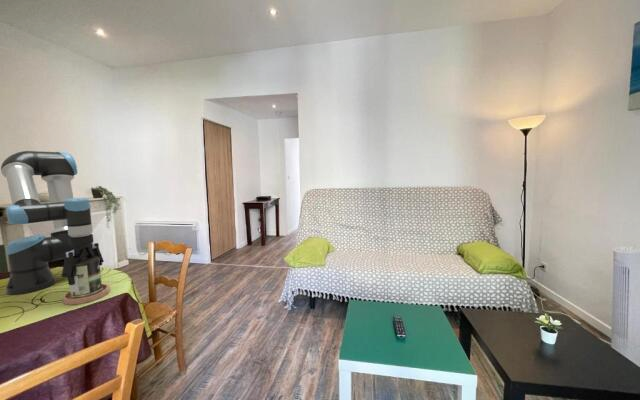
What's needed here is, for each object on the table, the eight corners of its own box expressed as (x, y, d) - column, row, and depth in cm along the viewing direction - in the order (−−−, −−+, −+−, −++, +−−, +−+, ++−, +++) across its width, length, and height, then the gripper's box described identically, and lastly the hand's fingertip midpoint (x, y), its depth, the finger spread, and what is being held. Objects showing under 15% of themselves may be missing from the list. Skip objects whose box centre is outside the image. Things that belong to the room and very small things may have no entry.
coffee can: (99, 284, 116) (96, 254, 115) (105, 291, 110) (101, 259, 108) (68, 292, 109) (64, 260, 107) (72, 300, 102) (68, 266, 100)
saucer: (70, 292, 112) (70, 288, 112) (112, 285, 119) (112, 281, 119) (57, 308, 100) (56, 303, 99) (105, 299, 107) (104, 294, 106)
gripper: (94, 228, 118) (98, 275, 120) (43, 242, 95) (50, 298, 98) (110, 228, 118) (115, 274, 120) (64, 242, 95) (70, 298, 98)
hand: (86, 285), depth 109 cm, fingers closed on coffee can, 10 cm apart
